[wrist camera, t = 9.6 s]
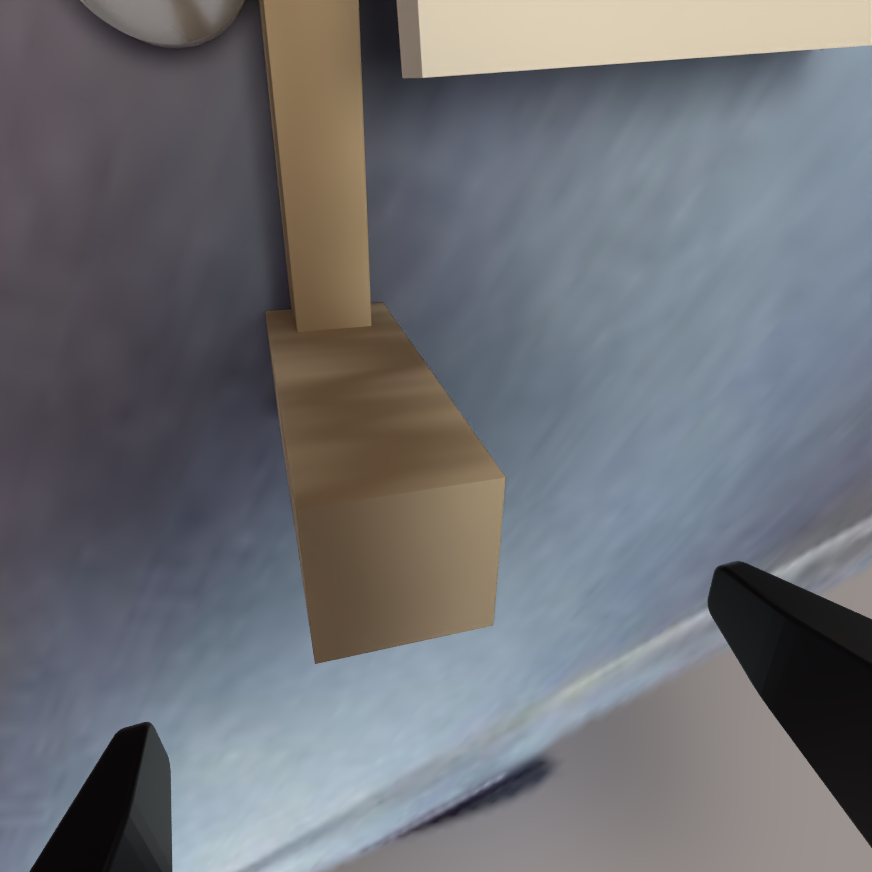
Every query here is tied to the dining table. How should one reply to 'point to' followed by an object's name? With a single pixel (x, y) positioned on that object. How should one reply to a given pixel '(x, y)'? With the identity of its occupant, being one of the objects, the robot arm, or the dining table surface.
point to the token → (168, 19)
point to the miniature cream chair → (614, 31)
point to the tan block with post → (362, 381)
